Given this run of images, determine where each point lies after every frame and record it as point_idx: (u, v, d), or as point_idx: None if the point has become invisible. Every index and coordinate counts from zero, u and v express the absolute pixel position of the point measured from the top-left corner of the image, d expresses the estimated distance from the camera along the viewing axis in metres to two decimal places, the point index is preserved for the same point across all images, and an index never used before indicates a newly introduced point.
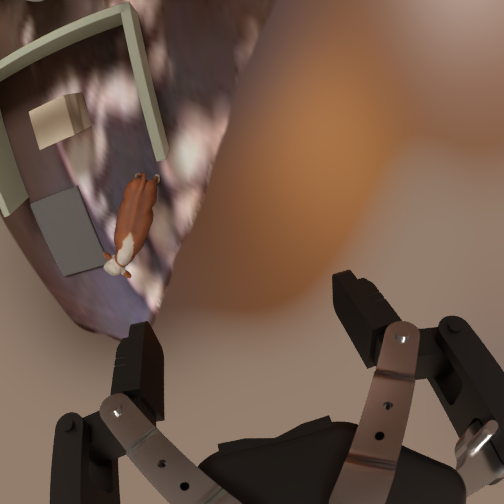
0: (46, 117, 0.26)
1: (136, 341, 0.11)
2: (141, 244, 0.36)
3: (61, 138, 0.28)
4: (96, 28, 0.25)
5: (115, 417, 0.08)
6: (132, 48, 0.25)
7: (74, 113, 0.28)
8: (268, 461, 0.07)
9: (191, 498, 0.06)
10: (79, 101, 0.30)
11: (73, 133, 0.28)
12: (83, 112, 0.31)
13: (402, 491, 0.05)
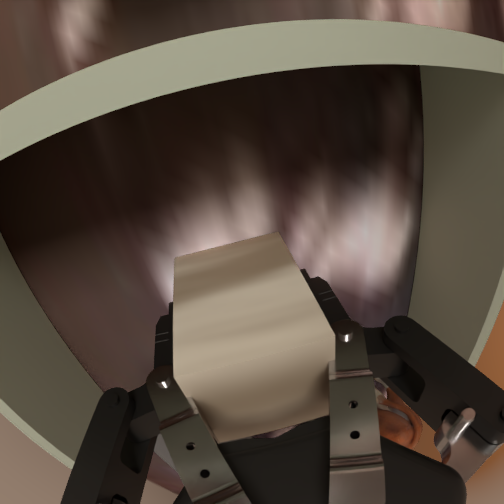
0: (251, 391, 0.09)
1: None
2: None
3: (292, 423, 0.11)
4: None
5: (164, 388, 0.09)
6: None
7: None
8: (268, 461, 0.07)
9: (207, 487, 0.06)
10: None
11: None
12: None
13: (402, 491, 0.05)
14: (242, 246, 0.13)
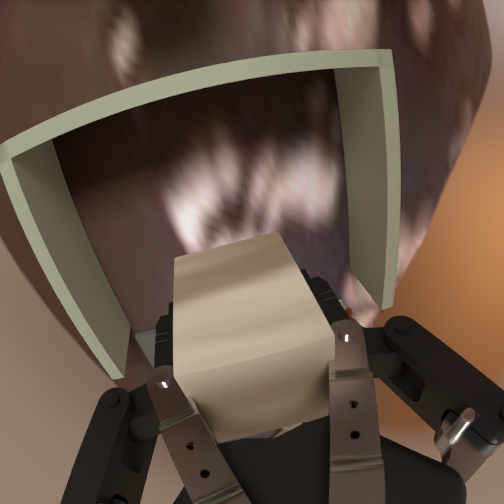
0: (250, 391, 0.09)
1: None
2: None
3: (292, 422, 0.11)
4: None
5: (164, 388, 0.09)
6: (392, 143, 0.16)
7: None
8: (268, 461, 0.07)
9: (207, 487, 0.06)
10: None
11: None
12: None
13: (402, 491, 0.05)
14: (242, 246, 0.13)
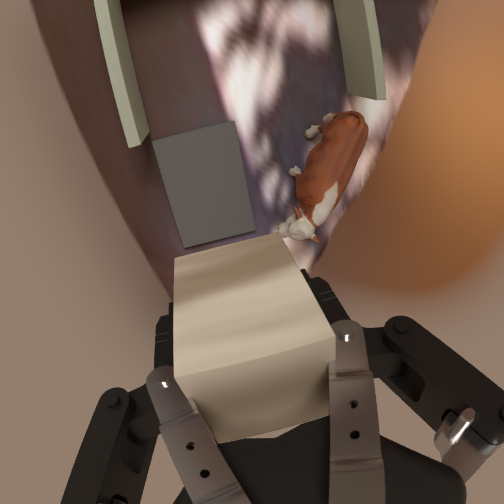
0: (251, 391, 0.09)
1: None
2: (338, 200, 0.29)
3: (293, 423, 0.11)
4: None
5: (165, 388, 0.09)
6: None
7: None
8: (268, 461, 0.07)
9: (206, 487, 0.06)
10: None
11: None
12: None
13: (402, 491, 0.05)
14: (242, 246, 0.13)
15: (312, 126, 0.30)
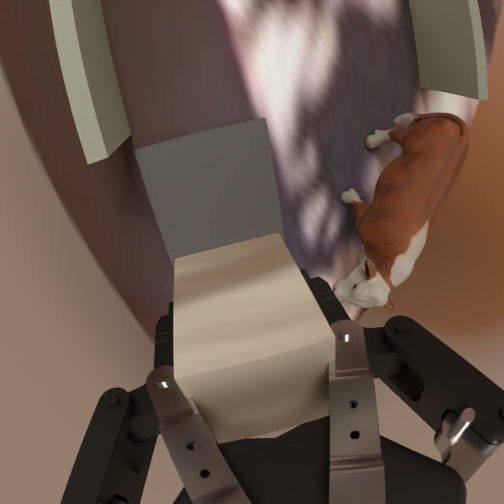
0: (251, 392, 0.09)
1: None
2: None
3: (293, 424, 0.11)
4: None
5: (164, 388, 0.09)
6: None
7: None
8: (268, 461, 0.07)
9: (207, 487, 0.06)
10: None
11: None
12: None
13: (402, 491, 0.05)
14: (242, 247, 0.13)
15: (377, 131, 0.19)
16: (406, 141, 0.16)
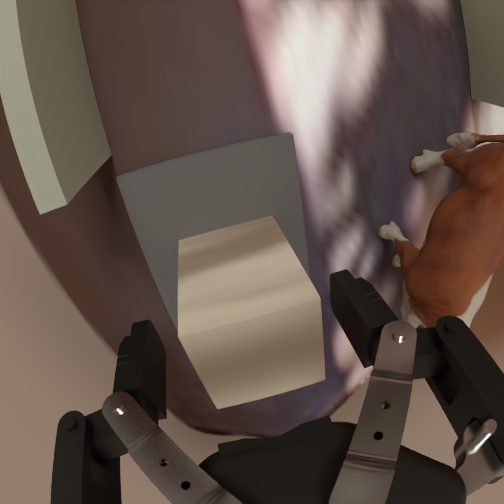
0: (247, 352, 0.11)
1: (138, 339, 0.11)
2: None
3: (287, 388, 0.12)
4: None
5: (118, 415, 0.08)
6: None
7: None
8: (268, 461, 0.07)
9: (192, 497, 0.06)
10: None
11: (322, 377, 0.12)
12: None
13: (402, 491, 0.05)
14: (240, 228, 0.15)
15: (426, 152, 0.15)
16: (471, 171, 0.12)
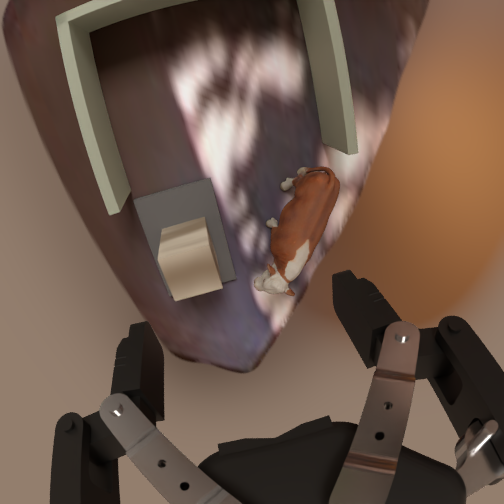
0: (184, 268, 0.28)
1: (136, 341, 0.11)
2: (311, 254, 0.30)
3: (205, 291, 0.29)
4: None
5: (115, 417, 0.08)
6: (331, 15, 0.20)
7: (214, 259, 0.30)
8: (268, 461, 0.07)
9: (191, 498, 0.06)
10: (208, 234, 0.31)
11: (221, 286, 0.29)
12: (212, 245, 0.33)
13: (402, 491, 0.05)
14: (189, 222, 0.32)
15: (287, 179, 0.32)
16: None
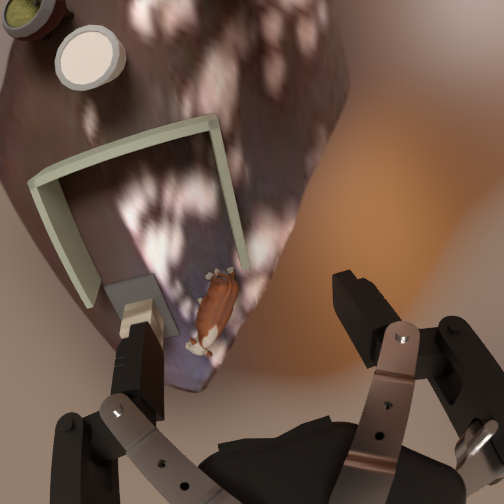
0: None
1: (136, 341, 0.11)
2: (222, 330, 0.43)
3: None
4: None
5: (115, 417, 0.08)
6: (223, 170, 0.32)
7: (157, 332, 0.42)
8: (268, 461, 0.07)
9: (191, 498, 0.06)
10: (154, 312, 0.44)
11: None
12: (158, 317, 0.45)
13: (402, 491, 0.05)
14: (142, 302, 0.45)
15: (209, 273, 0.45)
16: (208, 289, 0.41)
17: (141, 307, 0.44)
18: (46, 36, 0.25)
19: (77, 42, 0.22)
